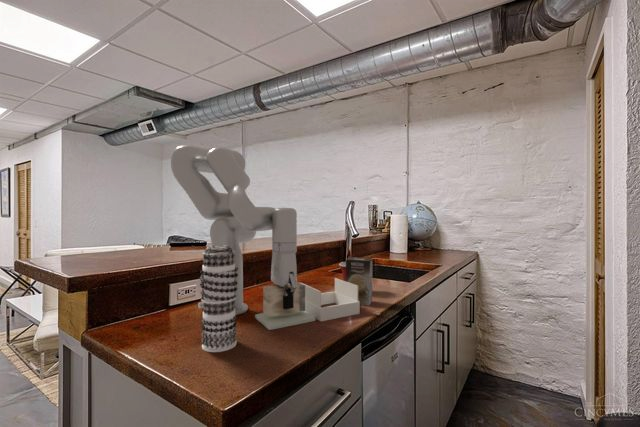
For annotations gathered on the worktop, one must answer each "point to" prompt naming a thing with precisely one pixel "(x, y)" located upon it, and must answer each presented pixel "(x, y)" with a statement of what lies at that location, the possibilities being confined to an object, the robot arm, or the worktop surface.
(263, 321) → the sage board
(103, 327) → the worktop surface
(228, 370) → the worktop surface
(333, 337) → the worktop surface
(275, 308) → the birch box
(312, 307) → the carton
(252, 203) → the robot arm
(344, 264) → the plastic cup
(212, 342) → the decorative candle
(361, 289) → the coffee box
